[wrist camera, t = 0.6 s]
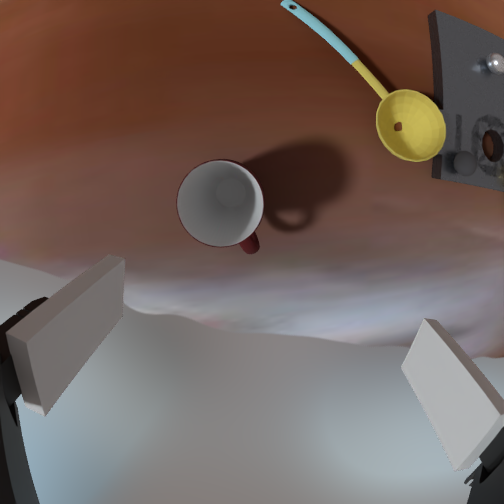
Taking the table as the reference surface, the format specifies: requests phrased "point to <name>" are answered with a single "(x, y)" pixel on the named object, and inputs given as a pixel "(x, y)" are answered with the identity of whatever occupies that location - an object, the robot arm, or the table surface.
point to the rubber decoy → (465, 163)
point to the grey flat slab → (467, 98)
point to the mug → (222, 204)
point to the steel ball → (495, 63)
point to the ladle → (391, 105)
